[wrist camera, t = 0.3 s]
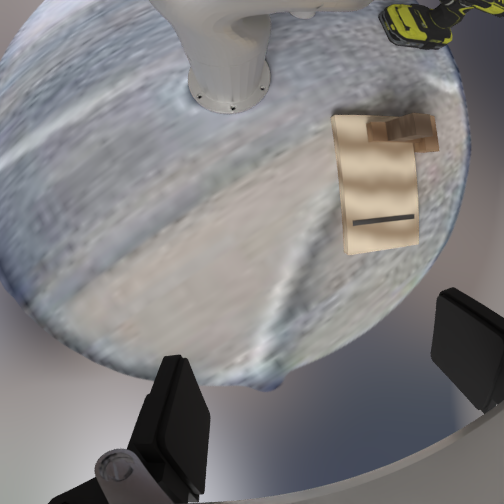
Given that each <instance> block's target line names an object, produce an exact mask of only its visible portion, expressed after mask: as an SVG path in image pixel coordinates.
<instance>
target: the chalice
mask: <svg viewBox="0 0 504 504" xmlns="http://www.w3.org/2000/svg"><path fill="white" fill-rule="evenodd" d="M290 14H292V15H293V16H295V17H297V18H300V19H309V18H312V17H313V16H314V15H315V12H290Z"/></svg>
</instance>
